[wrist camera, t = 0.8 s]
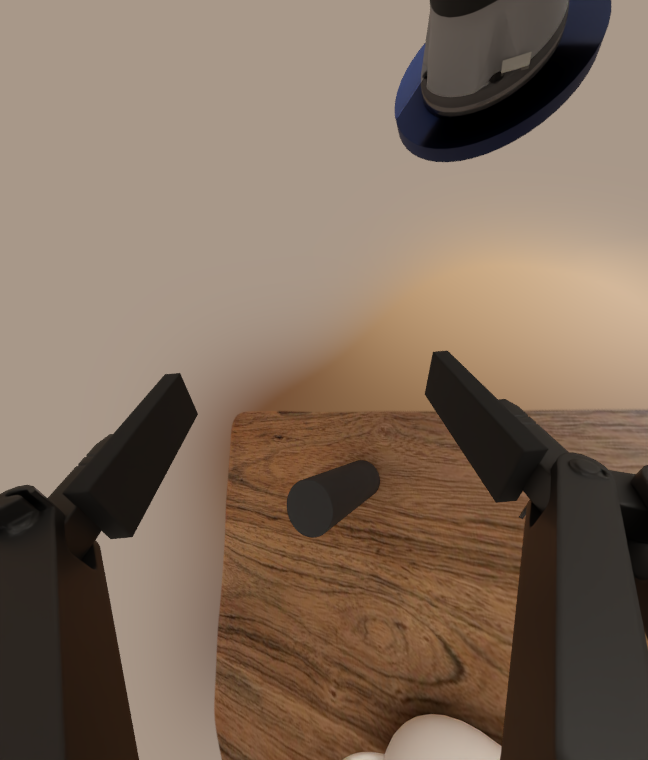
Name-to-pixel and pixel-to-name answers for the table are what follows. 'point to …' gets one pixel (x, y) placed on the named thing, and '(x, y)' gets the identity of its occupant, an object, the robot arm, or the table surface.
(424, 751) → the teapot
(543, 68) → the robot arm
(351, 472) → the black cylinder peg
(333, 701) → the table surface
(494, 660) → the table surface
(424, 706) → the table surface
